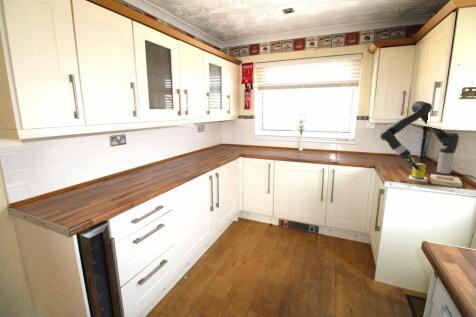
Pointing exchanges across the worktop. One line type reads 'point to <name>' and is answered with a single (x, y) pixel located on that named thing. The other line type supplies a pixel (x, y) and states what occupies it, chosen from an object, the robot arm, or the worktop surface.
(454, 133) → the robot arm
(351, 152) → the worktop surface
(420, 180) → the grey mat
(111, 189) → the worktop surface
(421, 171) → the supplement box
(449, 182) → the puzzle board
